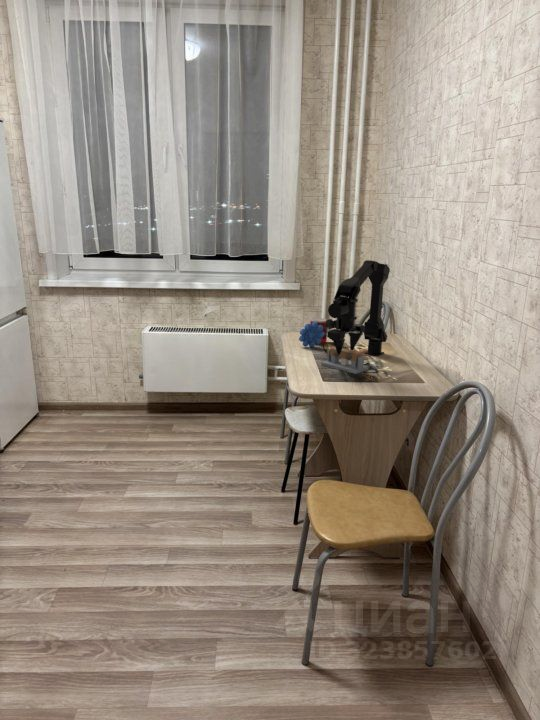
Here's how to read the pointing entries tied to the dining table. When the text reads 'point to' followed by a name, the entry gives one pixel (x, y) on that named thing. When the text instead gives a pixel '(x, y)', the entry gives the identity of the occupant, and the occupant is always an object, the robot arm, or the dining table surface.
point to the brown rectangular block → (345, 354)
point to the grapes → (311, 334)
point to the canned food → (323, 322)
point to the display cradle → (345, 364)
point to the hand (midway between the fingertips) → (345, 352)
